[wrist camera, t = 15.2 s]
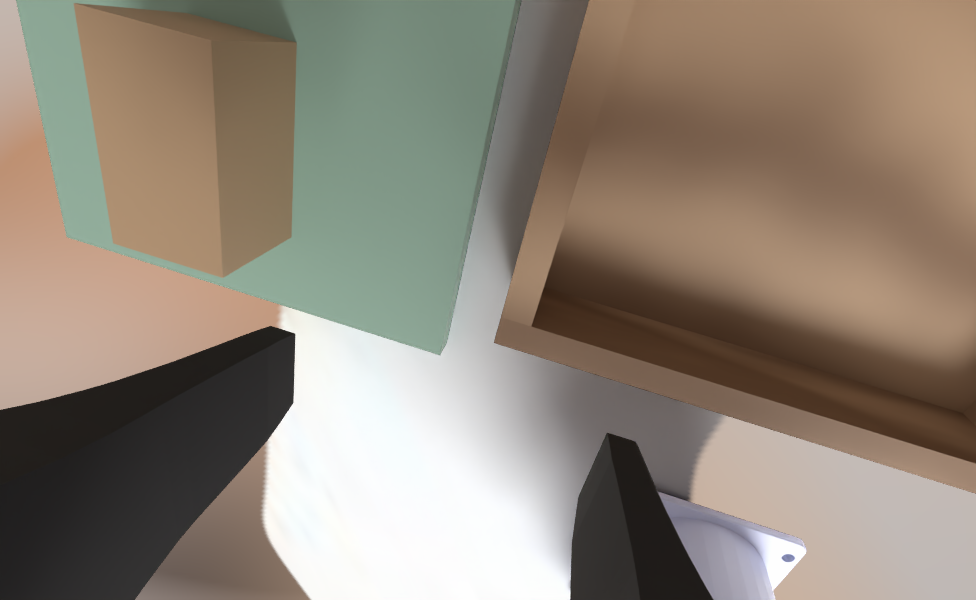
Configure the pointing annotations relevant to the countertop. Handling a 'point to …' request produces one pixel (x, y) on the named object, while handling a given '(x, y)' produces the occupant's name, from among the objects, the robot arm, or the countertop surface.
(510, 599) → the countertop surface
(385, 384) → the countertop surface
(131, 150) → the lid
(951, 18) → the wooden box
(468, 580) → the countertop surface
